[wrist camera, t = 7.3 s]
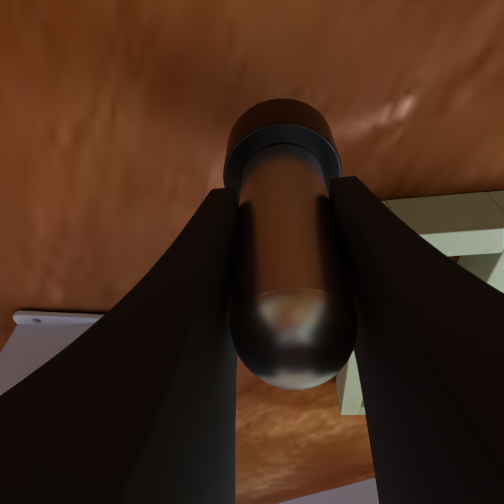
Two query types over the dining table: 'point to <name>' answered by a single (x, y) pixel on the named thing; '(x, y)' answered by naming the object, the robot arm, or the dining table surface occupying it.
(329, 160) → the silver rounded cylinder
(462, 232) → the rack
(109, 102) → the dining table surface
